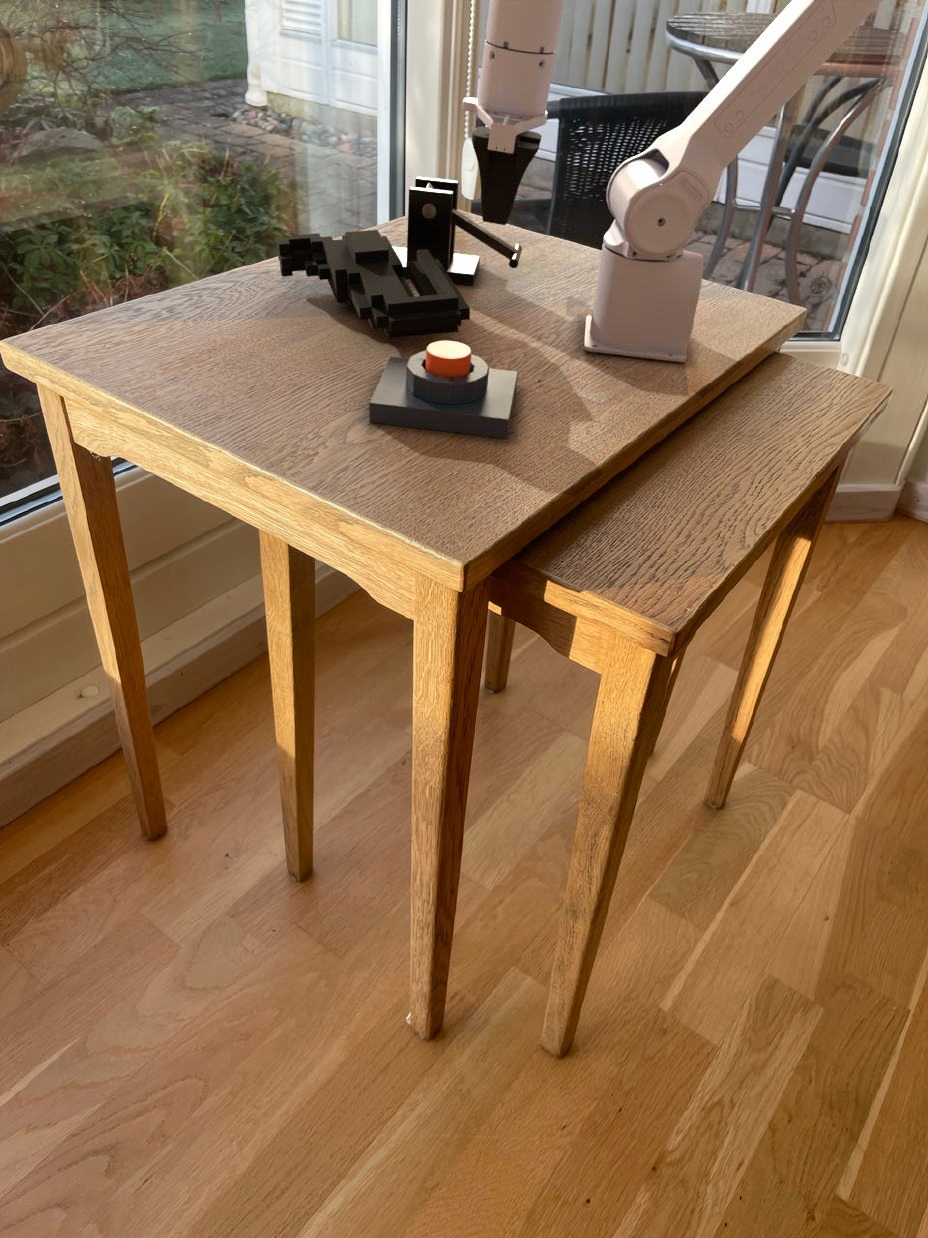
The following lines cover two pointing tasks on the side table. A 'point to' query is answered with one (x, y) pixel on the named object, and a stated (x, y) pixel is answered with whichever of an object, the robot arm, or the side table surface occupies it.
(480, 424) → the button box
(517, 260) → the switch lever
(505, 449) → the side table surface
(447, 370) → the button
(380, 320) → the tool
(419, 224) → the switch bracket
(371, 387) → the side table surface
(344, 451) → the side table surface
